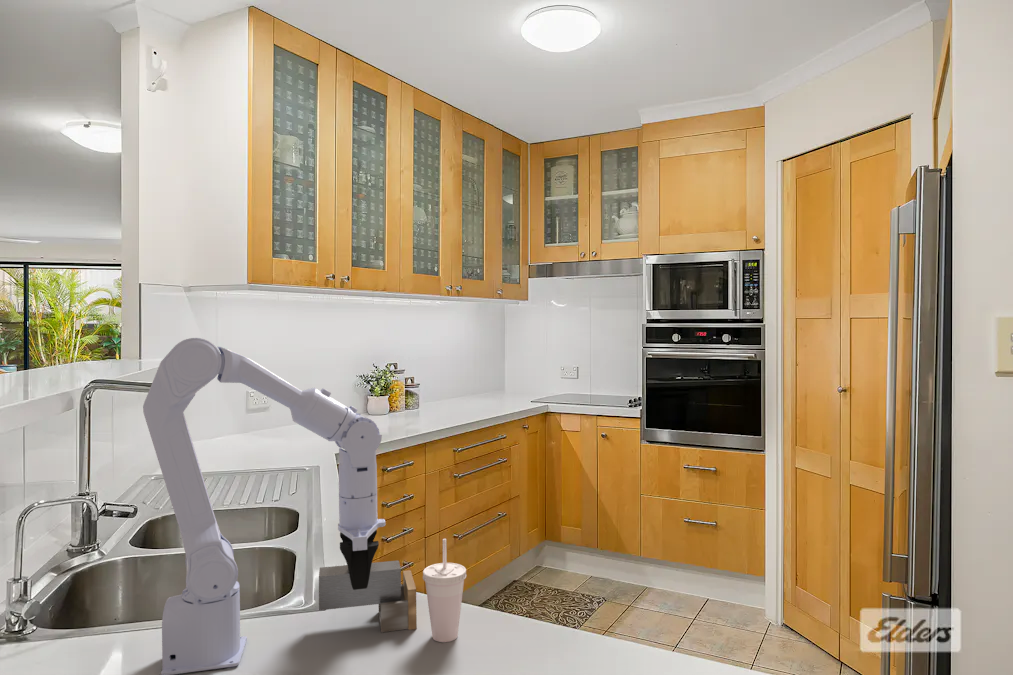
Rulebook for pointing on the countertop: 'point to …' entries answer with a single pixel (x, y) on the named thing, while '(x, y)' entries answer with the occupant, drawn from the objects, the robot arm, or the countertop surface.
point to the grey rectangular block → (341, 594)
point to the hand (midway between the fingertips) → (359, 582)
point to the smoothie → (444, 597)
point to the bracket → (400, 608)
